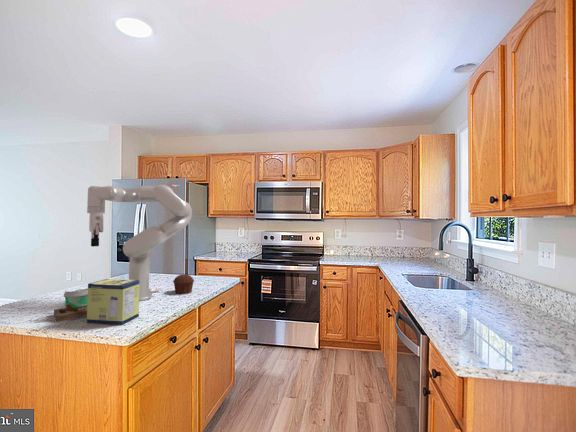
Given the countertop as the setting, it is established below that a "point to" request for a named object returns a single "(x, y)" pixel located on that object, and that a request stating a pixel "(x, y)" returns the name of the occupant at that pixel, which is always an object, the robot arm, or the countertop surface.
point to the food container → (76, 300)
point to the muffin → (183, 284)
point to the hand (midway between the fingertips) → (94, 246)
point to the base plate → (68, 314)
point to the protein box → (113, 301)
